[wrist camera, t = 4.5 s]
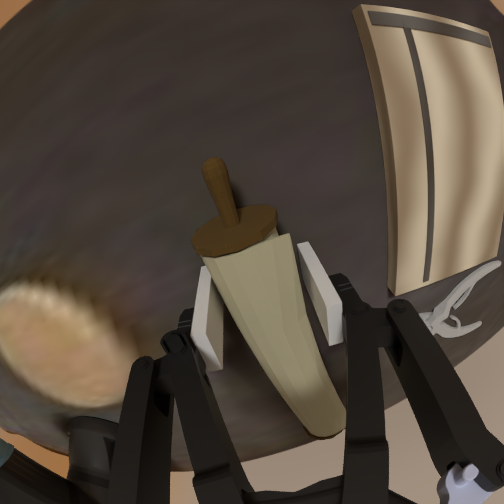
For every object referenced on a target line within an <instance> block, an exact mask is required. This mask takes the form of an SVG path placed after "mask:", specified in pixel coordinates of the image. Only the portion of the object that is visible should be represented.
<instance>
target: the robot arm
mask: <svg viewBox="0 0 504 504" xmlns="http://www.w3.org/2000/svg"><path fill="white" fill-rule="evenodd" d="M297 248H298V253H299V259H300V265H301V272H302V278H303V281H304V283H305V286H306V288H307V291H308V293H309V296H310V298H311V301H312V303H313V306H314V308H315V311H316V313H317V316H318V318H319V321H320V323H321V326H322V328H323V331H324V333H325V336H326V339H327V341H328V344H329V346H331V345H335V344H338V343H342V342H343V336H344V338H345V341H346V378H347V393H346V432H345V450H344V464H343V474H342V475H341V476H337V477H333V478H330V479H326V480H322V481H319V482H317V483H315V484H312V485H311V486H308V487H306V488H304V489H301V490H299V491H296V492H280V491H259V492H255V491H254V489H253V488H252V486H251V485H250V483H249V481H248V479H247V477H246V475H245V472H244V470H243V468H242V465H241V463H240V460H239V458H238V456H237V453H236V451H235V448H234V446H233V443H232V441H231V438H230V436H229V433H228V431H227V428H226V426H225V423H224V420H223V418H222V415H221V412H220V410H219V407H218V404H217V401H216V398H215V396H214V393H213V390H212V387H211V384H210V381H209V378H208V376H207V374H206V372H205V369H206V367H207V369H208V371H209V372H210V371H216V370H223V312H224V300H223V298H222V296H221V294H220V293H219V291H218V289H217V287H216V285H215V283H214V281H213V279H212V277H211V275H210V273H209V271H208V269H207V267H206V266H203V267H201V272H200V278H199V284H198V290H197V296H196V302H195V308H190V309H185V310H184V311H183V312H182V314H181V315H180V319H179V324H178V328H177V330H173V331H170V332H168V333H166V334H165V335H164V336H163V337H162V339H161V342H160V344H161V345H162V347H163V349H164V350H165V352H166V354H167V355H166V356H164V357H162V358H159V359H157V360H153V359H152V357H149V356H143V357H140V358H138V359H137V360H136V361H135V362H134V363H133V365H132V367H131V371H130V375H129V379H128V383H127V388H126V392H125V397H124V401H123V406H122V411H121V415H120V420H119V425H118V424H115V423H112V422H109V421H106V420H102V419H98V418H92V417H84V416H80V417H74V418H73V419H71V421H70V424H69V427H68V431H67V437H68V439H69V470H68V475H67V479H65V478H63V477H61V476H60V475H58V474H56V473H54V472H52V471H50V470H49V469H47V468H45V467H44V466H42V465H40V464H39V463H37V462H35V461H34V460H32V459H31V458H29V457H27V456H26V455H24V454H23V453H21V452H20V451H18V450H17V449H15V448H14V446H13V445H12V444H9V443H7V442H5V441H4V440H2V439H1V438H0V504H170V464H171V441H172V424H173V410H174V397H175V399H176V404H177V408H178V413H179V417H180V421H181V425H182V429H183V434H184V437H185V441H186V445H187V449H188V452H189V456H190V460H191V463H192V467H193V470H194V474H195V476H194V478H193V487H194V490H195V493H196V496H197V499H198V502H199V504H417V503H415V502H413V501H411V500H409V499H407V498H405V497H403V496H401V495H399V494H397V493H395V492H393V491H391V490H389V489H388V486H389V448H388V442H387V440H386V436H385V416H384V401H383V389H382V378H381V369H380V361H379V353H378V347H384V348H385V351H386V353H387V355H388V357H389V359H390V361H391V363H392V365H393V367H394V369H395V372H396V374H397V376H398V378H399V380H400V383H401V385H402V387H403V389H404V391H405V394H406V396H407V398H408V401H409V403H410V405H411V408H412V410H413V412H414V415H415V417H416V420H417V422H418V424H419V427H420V430H421V432H422V435H423V437H424V440H425V442H426V445H427V448H428V451H429V453H430V456H431V459H432V461H433V463H434V465H435V468H436V469H437V471H438V473H439V474H440V476H441V478H440V480H439V482H438V484H437V493H438V495H439V498H440V504H483V502H484V501H485V500H486V499H487V498H488V497H489V496H490V495H491V494H492V493H493V492H494V491H496V490H498V489H500V488H501V487H503V486H504V445H503V444H502V443H501V442H500V441H499V440H498V439H497V438H496V437H495V436H493V435H492V434H491V433H490V432H489V431H488V430H487V429H486V427H485V425H484V423H483V421H482V419H481V417H480V415H479V413H478V411H477V409H476V407H475V405H474V403H473V401H472V400H471V398H470V396H469V394H468V392H467V391H466V389H465V387H464V385H463V383H462V382H461V380H460V378H459V376H458V375H457V373H456V371H455V370H454V368H453V366H452V365H451V363H450V361H449V360H448V358H447V356H446V355H445V353H444V352H443V350H442V349H441V347H440V345H439V344H438V342H437V341H436V339H435V338H434V336H433V335H432V333H431V332H430V330H429V329H428V327H427V326H426V324H425V323H424V321H423V320H422V318H421V317H420V315H419V314H418V313H417V311H416V310H415V308H414V307H413V306H412V304H411V303H410V302H409V301H407V300H405V299H394V300H392V301H390V303H389V304H388V306H387V308H371V306H370V305H369V304H367V303H365V302H362V300H361V299H360V297H359V295H358V294H357V292H356V291H355V289H354V287H353V286H352V284H351V283H350V281H349V280H348V278H347V277H346V276H344V275H343V274H341V273H339V274H335V275H331V276H327V274H326V272H325V270H324V268H323V267H322V265H321V263H320V261H319V260H318V258H317V256H316V254H315V253H314V251H313V249H312V247H311V246H310V244H309V242H304V243H300V244H297Z"/></svg>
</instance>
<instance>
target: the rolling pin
mask: <svg viewBox="0 0 504 504" xmlns="http://www.w3.org/2000/svg"><path fill="white" fill-rule="evenodd" d="M202 173H203V177H204V180H205V182H206V184H207V186H208V189H209V191H210V193H211V195H212V197H213V199H214V201H215V204H216V206H217V209H218V211H219V214H220V216H218V217H216V218H214V219H212V220H210V221H209V222H207V223H206V224H205V225H203V226H202V227H200V228H199V229H198V230H197V231H196V232H195V234H194V235H193V237H192V239H191V240H190V241H191V243H192V245H193V247H194V249H195V251H196V253H197V255H201V257H202V259H203V261H204V263H205V265H206V267H207V269H208V271H209V273H210V275H211V277H212V279H213V281H214V283H215V285H216V287H217V289H218V291H219V293H220V294H221V296H222V298H223V300H224V302H225V304H226V306H227V308H228V310H229V312H230V313H231V315H232V317H233V319H234V321H235V323H236V325H237V326H238V328H239V330H240V332H241V333H242V335H243V337H244V338H245V340H246V342H247V343H248V345H249V347H250V348H251V350H252V352H253V353H254V355H255V356H256V358H257V360H258V361H259V363H260V365H261V366H262V368H263V369H264V371H265V373H266V374H267V376H268V377H269V379H270V380H271V382H272V383H273V384H274V386H275V387H276V389H277V390H278V392H279V393H280V394H281V396H282V397H283V399H284V400H285V401H286V403H287V404H288V406H289V407H290V408H291V410H292V411H293V412H294V413H295V415H296V416H297V417H298V418H299V420H300V421H301V422H302V423H303V428H304V430H305V431H306V432H307V434H308V435H309V436H310V437H312V438H315V439H318V440H325V439H330V438H333V437H335V436H336V435H337V434H339V433H340V432H342V430H343V429H344V428H345V427H346V409H345V408H344V406H343V404H342V402H341V401H340V399H339V397H338V395H337V393H336V390H335V388H334V386H333V384H332V382H331V380H330V378H329V376H328V373H327V371H326V368H325V366H324V363H323V361H322V358H321V356H320V353H319V350H318V347H317V344H316V341H315V338H314V335H313V332H312V329H311V326H310V323H309V320H308V317H307V314H306V309H305V304H304V299H303V294H302V289H301V284H300V280H299V275H298V270H297V265H296V261H295V256H294V251H293V247H292V242H291V238H290V234H284V235H281V236H279V235H278V232H277V229H276V226H277V220H278V214H277V211H276V209H275V208H273V207H271V206H268V205H249V206H246V207H242V208H238V209H236V205H235V202H234V198H233V194H232V189H231V184H230V180H229V175H228V170H227V167H226V165H225V163H224V161H223V160H222V159H221V158H218V157H213V158H209V159H208V160H206V161H205V162H204V164H203V165H202Z"/></svg>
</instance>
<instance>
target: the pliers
mask: <svg viewBox="0 0 504 504" xmlns="http://www.w3.org/2000/svg"><path fill="white" fill-rule="evenodd" d="M500 265H501V261H494V262H490V263H488V264H485V265H484V266H482V267H480V268H478V269H477V270H475V271H474V272H473V273H471V274H470V275H469V276H467V277H466V278H465V279H464V280H463V281H461V282H460V283H459V284H458V285H457V286H456V287H455V288H454V289H453V291H452V292H451V293H450V294H449V295H448V297H447V298H446V299H445V300H444V301H443V302H441V303H440V304H439V305H438V306H437V307H435V308H434V311H433V312H428V313H421V314H419V315H420V317H421V318H422V320H423V321H424V323H425V324H426V326H427V327H428V329H429V330H430V332H431V333H432V335H433V336H434V334H435V333H437V334H439V335H441V336H442V337H446V338H452V337H458V336H461V335H464V334H466V333H469V332H471V331H472V330H474V329H476V328H477V327H479V326H480V325H481V324H482V322H481V321H479V322H476V323H474V324H471V325H468V326H463V327H460V321H459V319H458V318H457V317H455V316H452V315H451V316H450V318H451V319H453V320H455V321H456V327H451V326H449V325H448V324H446V323H445V322H441V321H443V320H444V319H446V318H447V317H448V315H449V311H450V308H451V306H452V305H453V304H454V303H455V302H456V301H457V300H458V299H459V297H460V296H461V295H462V294H463V293H464V292H465V291H466V292H465V293H464V295H463V296H462V298H461V299H460V300H459V301H458V302H457V303H456V304H455V305H454V306H453V308H454V309H456V308H457V307H458V306H460V305H461V303H462V302H463V301H464V300H465V299H466V298H467V296H468V295H469V293H470V291H471V290H472V288H473V286H474V284H475V283H476V281H478V280H479V279H480V278H482V277H483V276H484V275H486V274H487V273H489V272H491V271H492V270H494V269H495V268H497V267H499V266H500Z"/></svg>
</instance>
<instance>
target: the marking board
mask: <svg viewBox="0 0 504 504" xmlns="http://www.w3.org/2000/svg"><path fill="white" fill-rule="evenodd" d="M351 12H352V14H353V17H354V21H355V24H356V27H357V30H358V33H359V37H360V40H361V44H362V47H363V51H364V55H365V59H366V63H367V67H368V71H369V75H370V80H371V84H372V89H373V94H374V99H375V104H376V110H377V116H378V122H379V128H380V135H381V143H382V151H383V160H384V169H385V181H386V195H387V214H388V279H387V287H388V288H389V289H390V290H391V292H392V293H393V294H394V295H395V296H398V295H401V294H404V293H406V292H409V291H412V290H415V289H418V288H420V287H423V286H426V285H428V284H431V283H434V282H436V281H439V280H442V279H444V278H447V277H449V276H452V275H454V274H457V273H459V272H461V271H464V270H466V269H469V268H471V267H473V266H476V265H478V264H480V263H482V262H485V261H487V260H489V259H491V258H494V257H496V256H497V251H498V246H499V240H500V234H501V227H502V220H503V212H504V106H503V98H502V91H501V85H500V79H499V74H498V69H497V64H496V59H495V55H494V51H493V47H492V43H491V40H490V36H489V33H488V32H486V31H484V30H481V29H478V28H475V27H473V26H470V25H466V24H463V23H460V22H457V21H453V20H450V19H446V18H442V17H438V16H434V15H430V14H426V13H421V12H416V11H411V10H405V9H399V8H392V7H384V6H375V5H363V4H360V5H359V6H358V7H356V8H355V9H354V10H352V11H351Z"/></svg>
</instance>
